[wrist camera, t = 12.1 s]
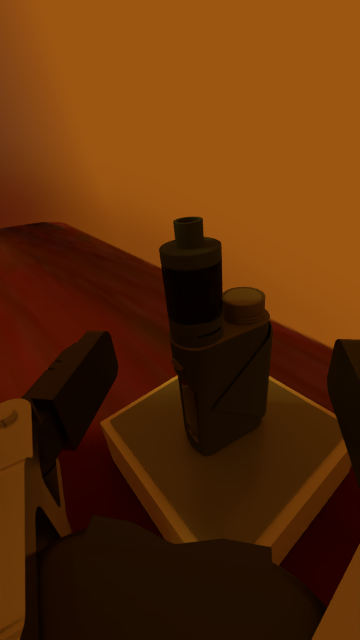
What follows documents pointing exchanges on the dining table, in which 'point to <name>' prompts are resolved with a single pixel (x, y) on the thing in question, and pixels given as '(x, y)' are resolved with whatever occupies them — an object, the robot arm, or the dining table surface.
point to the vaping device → (214, 341)
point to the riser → (230, 469)
